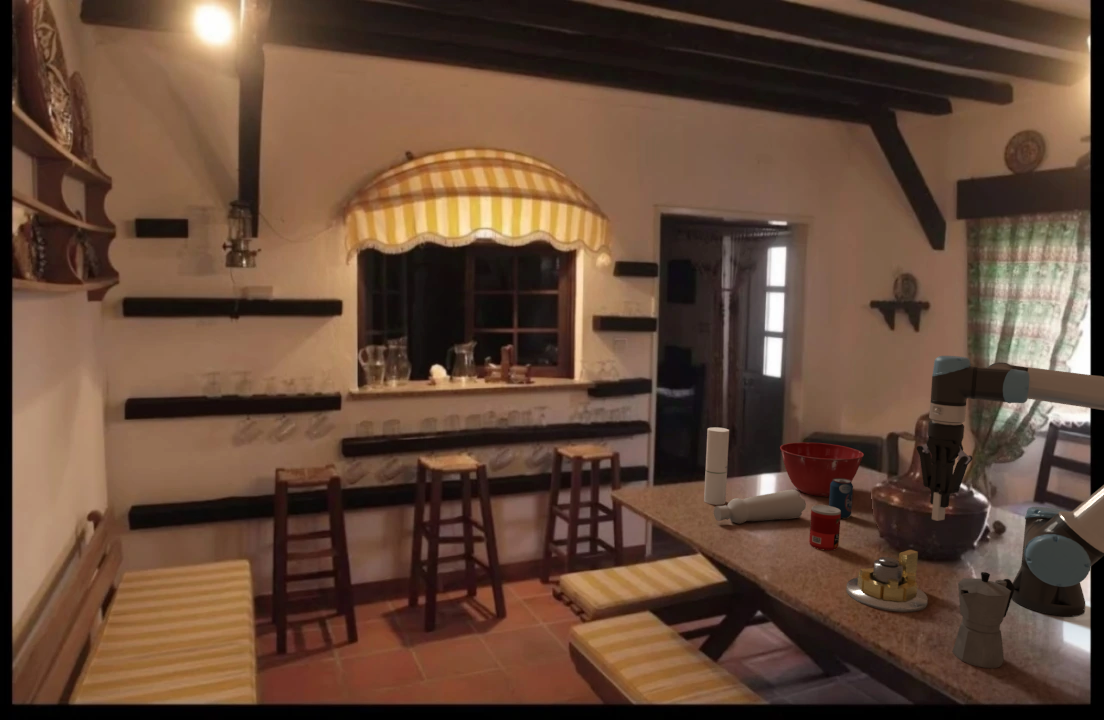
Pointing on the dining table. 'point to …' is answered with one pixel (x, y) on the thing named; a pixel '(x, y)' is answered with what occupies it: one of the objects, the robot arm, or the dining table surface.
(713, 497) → the cylindrical container
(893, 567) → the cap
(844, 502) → the soda can
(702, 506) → the dining table surface
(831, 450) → the mixing bowl
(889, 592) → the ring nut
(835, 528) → the canned food
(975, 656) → the coffeepot
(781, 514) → the bottle
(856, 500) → the dining table surface
